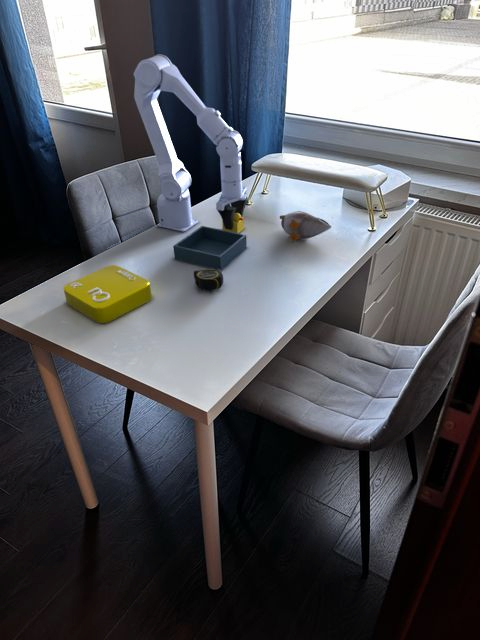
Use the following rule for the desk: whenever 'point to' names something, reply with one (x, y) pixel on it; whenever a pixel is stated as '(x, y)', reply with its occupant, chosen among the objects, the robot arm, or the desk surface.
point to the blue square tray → (210, 247)
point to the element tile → (107, 293)
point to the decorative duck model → (303, 225)
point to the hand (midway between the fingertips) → (233, 225)
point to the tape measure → (208, 279)
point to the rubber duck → (236, 224)
